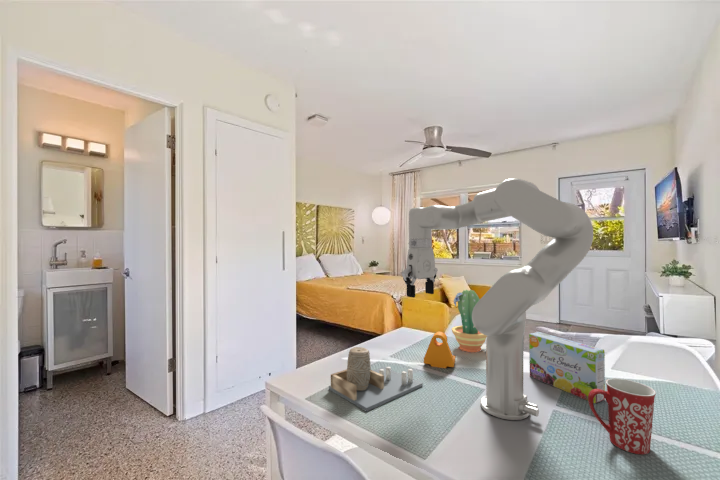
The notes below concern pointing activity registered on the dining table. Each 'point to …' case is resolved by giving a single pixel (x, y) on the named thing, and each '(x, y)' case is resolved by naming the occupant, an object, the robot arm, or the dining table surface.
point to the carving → (359, 367)
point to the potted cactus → (468, 323)
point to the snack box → (567, 365)
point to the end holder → (350, 389)
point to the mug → (627, 414)
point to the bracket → (439, 352)
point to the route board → (384, 389)
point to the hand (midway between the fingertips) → (420, 295)
